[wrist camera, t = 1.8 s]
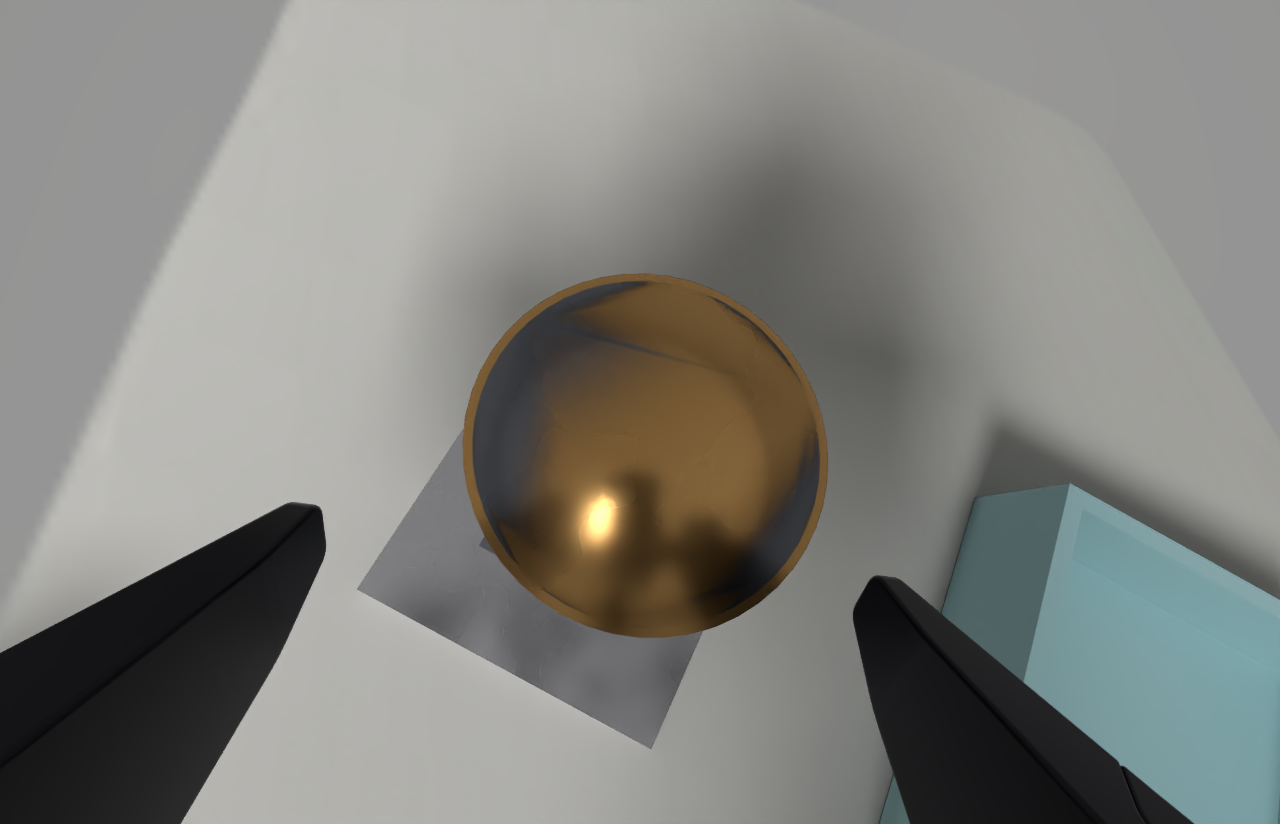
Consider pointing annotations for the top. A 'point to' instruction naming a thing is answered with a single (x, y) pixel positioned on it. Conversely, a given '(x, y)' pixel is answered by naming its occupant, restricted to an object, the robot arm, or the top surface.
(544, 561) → the grey gold-rimmed cylinder
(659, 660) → the stud plate
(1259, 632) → the tray
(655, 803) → the top surface
